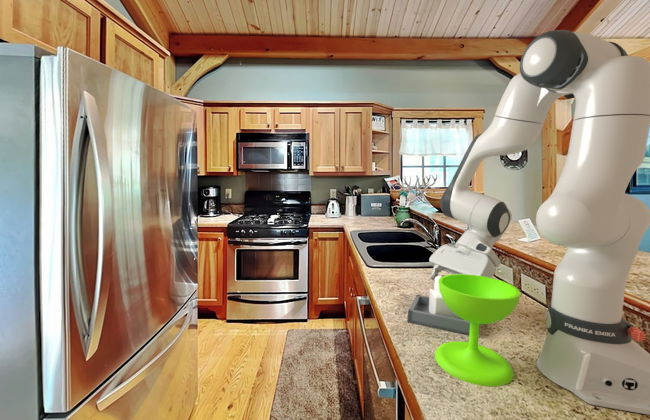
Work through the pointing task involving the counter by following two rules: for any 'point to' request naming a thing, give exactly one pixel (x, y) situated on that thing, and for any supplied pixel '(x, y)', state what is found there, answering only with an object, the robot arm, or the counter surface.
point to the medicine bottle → (439, 301)
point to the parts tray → (435, 317)
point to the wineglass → (476, 327)
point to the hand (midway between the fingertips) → (443, 284)
